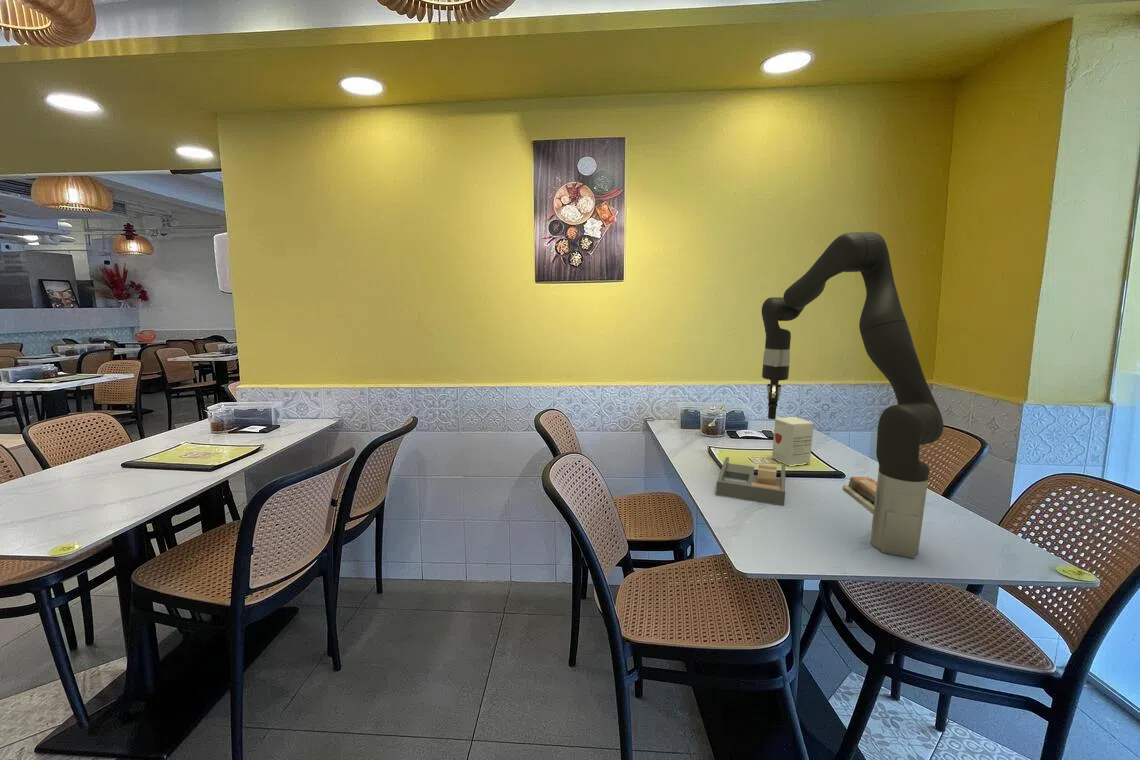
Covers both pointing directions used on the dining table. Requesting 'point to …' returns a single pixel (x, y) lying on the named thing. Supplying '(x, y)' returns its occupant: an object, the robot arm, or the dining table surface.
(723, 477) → the box
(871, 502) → the packaged product
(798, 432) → the supplement box
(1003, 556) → the dining table surface
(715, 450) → the dining table surface
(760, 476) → the block
